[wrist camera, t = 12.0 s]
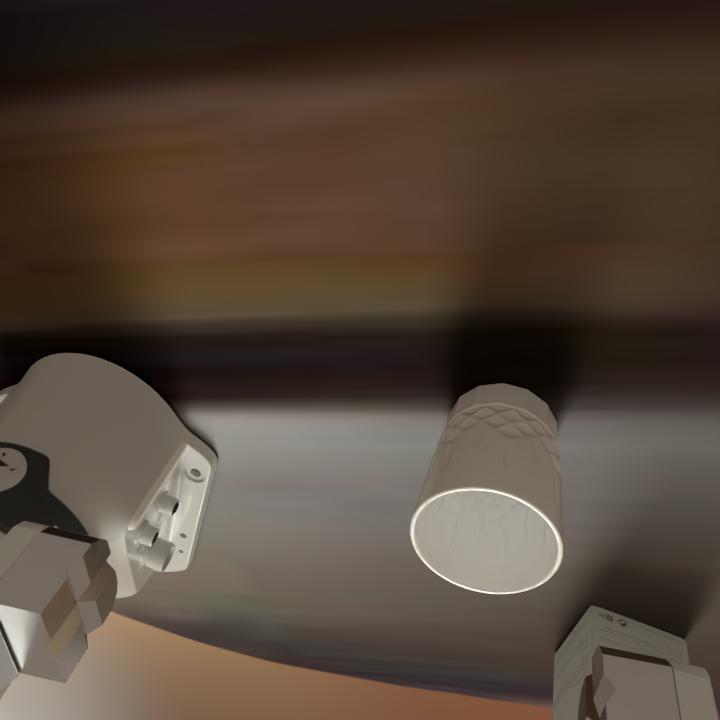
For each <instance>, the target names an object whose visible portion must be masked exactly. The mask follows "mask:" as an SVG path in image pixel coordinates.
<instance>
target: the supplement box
mask: <svg viewBox="0 0 720 720" xmlns="http://www.w3.org/2000/svg"><path fill="white" fill-rule="evenodd" d="M598 646H603V647H608V648H613V649H618V650H623V651H628V652H633V653H638V654H643V655H648V656H653V657H658V658H663V659H666V660H667V661H672V662H677V663H682V664H687V665H689V658H688V651H687V644H686V641H685V640H684V639H682V638H680V637H678V636H675V635H673V634H670V633H668V632H665V631H662V630H659V629H657V628H654V627H651V626H649V625H646V624H644V623H641V622H638V621H635V620H633V619H630V618H627V617H625V616H622V615H619V614H617V613H614V612H611V611H608V610H605V609H603V608H600V607H597V606H594V605H591V606H590V607H589V609H588V610H587V611H586V613H585V614H584V615H583V617H582V618H581V619H580V621H579V622H578V623H577V625H576V626H575V628H574V629H573V630H572V632H571V633H570V634H569V636H568V637H567V639H566V640H565V641H564V643H563V644H562V645H561V647H560V648H559V649H558V651H557V652H556V654H555V655H554V658H555V660H554V690H553V720H578V707H579V701H580V694H581V689H582V686H583V683H584V680H585V677H586V676H588V675H590V674H592V657H593V655H594V652H595V649H596V648H597V647H598Z"/></svg>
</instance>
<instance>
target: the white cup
mask: <svg viewBox="0 0 720 720" xmlns="http://www.w3.org/2000/svg"><path fill="white" fill-rule="evenodd" d="M410 536H411V541H412V544H413V546H414V549H415V551H416V552H417V554H418V555H419V557H420V558H421V560H422V561H423V562H424V563H425V564H426V565H427V566H428V567H429V568H430V569H431V570H432V571H434V572H435V573H436V574H438V575H439V576H441V577H442V578H444V579H445V580H447V581H449V582H451V583H453V584H455V585H458V586H460V587H463V588H466V589H469V590H473V591H477V592H482V593H489V594H512V593H519V592H523V591H527V590H530V589H533V588H535V587H537V586H539V585H541V584H543V583H544V582H546V581H547V580H548V579H550V578H551V577H552V576H553V575H554V573H555V572H556V571H557V569H558V568H559V566H560V563H561V561H562V557H563V532H562V492H561V473H560V458H559V454H558V449H557V422H556V420H555V418H554V416H553V414H552V412H551V410H550V408H549V406H548V405H547V403H546V402H544V401H543V400H542V399H540V398H539V397H537V396H536V395H535V394H533V393H532V392H531V391H529V390H528V389H524V388H521V387H517V386H513V385H509V384H505V383H499V384H489V385H480V386H478V387H476V388H474V389H472V390H470V391H469V392H467V393H465V394H463V395H462V396H460V397H459V399H458V401H457V402H456V404H455V405H454V407H453V409H452V410H451V412H450V414H449V417H448V420H447V423H446V426H445V429H444V430H443V432H442V434H441V437H440V439H439V442H438V445H437V448H436V450H435V453H434V455H433V458H432V461H431V464H430V467H429V470H428V473H427V476H426V479H425V482H424V485H423V488H422V491H421V494H420V497H419V500H418V502H417V505H416V508H415V511H414V514H413V517H412V520H411V525H410Z"/></svg>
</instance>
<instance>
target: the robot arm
mask: <svg viewBox="0 0 720 720" xmlns="http://www.w3.org/2000/svg"><path fill="white" fill-rule="evenodd" d="M216 466H217V457H216V455H215V453H214V452H213V451H212V450H211V449H210V448H209V447H208V446H207V445H206V444H205V443H203V442H202V441H201V440H200V439H198V438H197V437H196V436H194V435H193V434H192V433H190V432H189V431H188V430H187V429H186V428H185V427H184V425H183V424H182V423H181V422H180V420H179V419H178V417H177V416H176V415H175V413H174V412H173V411H172V409H171V408H170V407H169V405H168V404H167V403H166V402H165V401H164V400H163V399H162V398H161V397H160V395H159V394H158V393H156V392H155V391H154V390H153V389H152V388H151V387H150V386H149V385H147V384H146V383H145V382H144V381H142V380H141V379H140V378H138V377H137V376H135V375H134V374H132V373H130V372H129V371H127V370H125V369H124V368H122V367H120V366H118V365H116V364H113V363H111V362H109V361H106V360H103V359H101V358H97V357H94V356H90V355H85V354H79V353H59V354H53V355H50V356H46V357H44V358H42V359H40V360H38V361H37V362H36V363H34V364H33V365H32V366H31V367H30V368H29V370H28V371H27V373H26V374H25V376H24V377H23V378H22V379H21V381H20V382H19V383H18V384H16V385H13V386H10V387H7V388H5V389H3V390H1V391H0V699H1V697H2V696H3V694H4V693H5V691H6V690H7V688H8V687H9V685H10V683H11V682H12V680H14V679H15V678H16V677H18V676H19V674H18V673H23V674H27V675H32V676H36V677H40V678H45V679H50V680H54V681H58V682H63V683H66V681H67V680H68V678H69V676H70V675H71V673H72V672H73V670H74V669H75V667H76V665H77V663H78V662H79V661H80V659H81V658H82V656H83V655H84V653H85V651H86V650H87V648H88V645H87V634H88V633H90V632H92V631H93V630H95V629H96V628H98V627H100V626H101V625H102V624H103V623H104V621H105V620H106V618H107V616H108V615H109V613H110V611H111V609H112V606H113V603H114V601H115V598H124V597H128V596H131V595H134V594H135V593H137V592H138V591H139V590H140V589H141V588H142V587H143V585H144V584H145V583H146V581H147V580H148V579H149V577H150V576H151V574H152V573H153V571H158V572H174V571H181V570H185V569H186V568H187V567H188V566H189V564H190V563H191V562H192V559H193V556H194V553H195V549H196V545H197V541H198V537H199V533H200V529H201V525H202V521H203V517H204V513H205V509H206V506H207V502H208V498H209V494H210V490H211V486H212V482H213V478H214V474H215V470H216ZM578 720H719V718H718V713H717V709H716V704H715V699H714V694H713V689H712V685H711V680H710V676H709V674H708V673H707V671H706V670H705V669H704V668H701V667H697V666H692V665H687V664H682V663H677V662H672V661H667V660H666V659H663V658H658V657H653V656H648V655H643V654H638V653H633V652H628V651H623V650H618V649H613V648H608V647H603V646H598V647H597V648H596V649H595V652H594V655H593V657H592V674H590V675H588V676H586V677H585V680H584V683H583V686H582V689H581V694H580V701H579V707H578Z"/></svg>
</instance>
